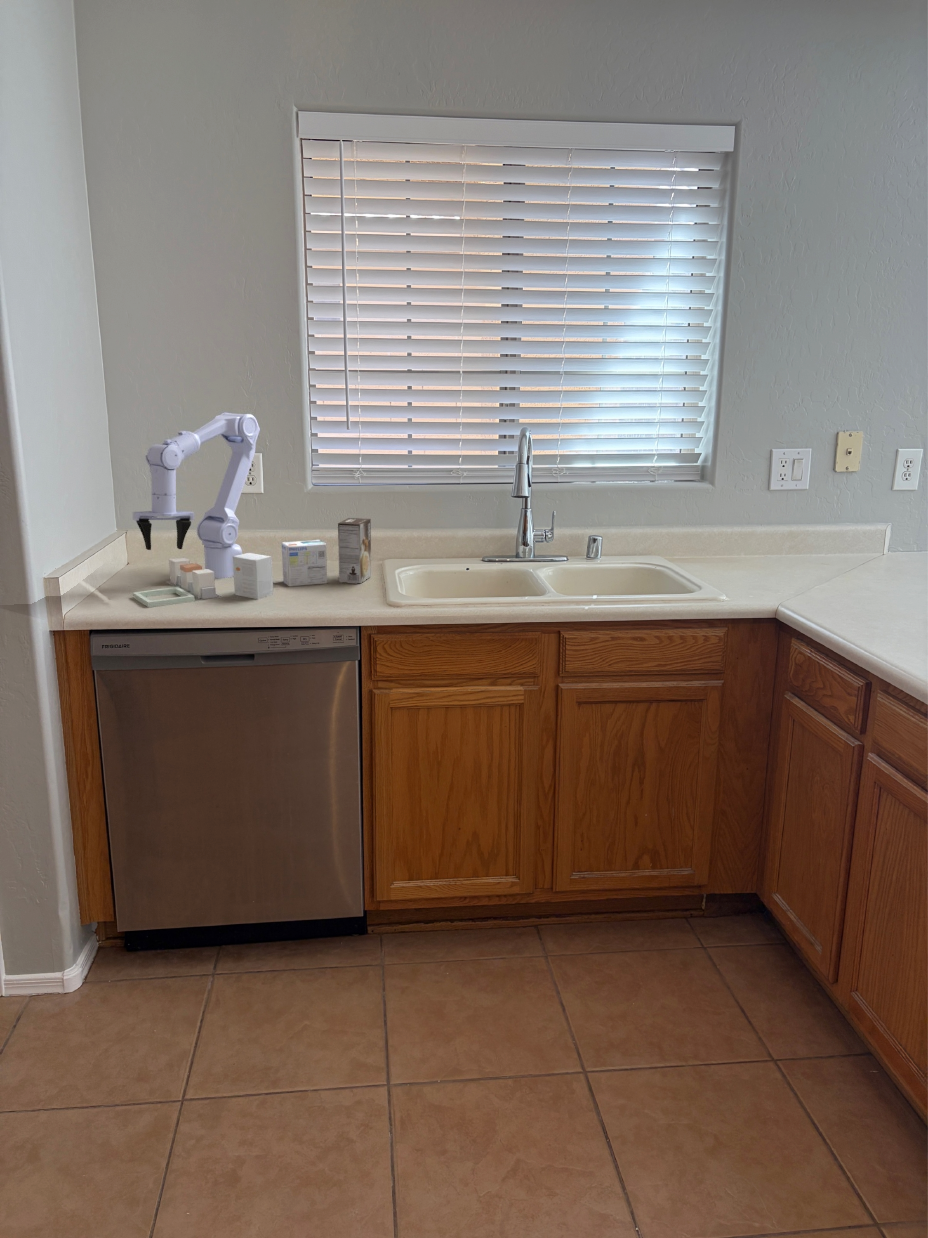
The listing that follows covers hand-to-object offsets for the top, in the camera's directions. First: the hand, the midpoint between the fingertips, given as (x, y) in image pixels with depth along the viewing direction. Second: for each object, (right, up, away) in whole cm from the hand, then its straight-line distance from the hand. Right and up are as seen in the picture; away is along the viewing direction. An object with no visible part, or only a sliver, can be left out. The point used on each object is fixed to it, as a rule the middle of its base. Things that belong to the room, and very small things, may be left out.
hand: (164, 549), depth 229 cm
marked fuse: (+6, -10, +2) cm, 12 cm away
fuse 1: (+2, -8, +8) cm, 11 cm away
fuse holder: (+6, -11, +2) cm, 13 cm away
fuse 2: (+11, -12, -4) cm, 17 cm away
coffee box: (+45, -7, +19) cm, 50 cm away
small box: (+23, -12, -2) cm, 26 cm away
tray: (+3, -13, -8) cm, 16 cm away
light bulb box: (+33, -8, +14) cm, 37 cm away
